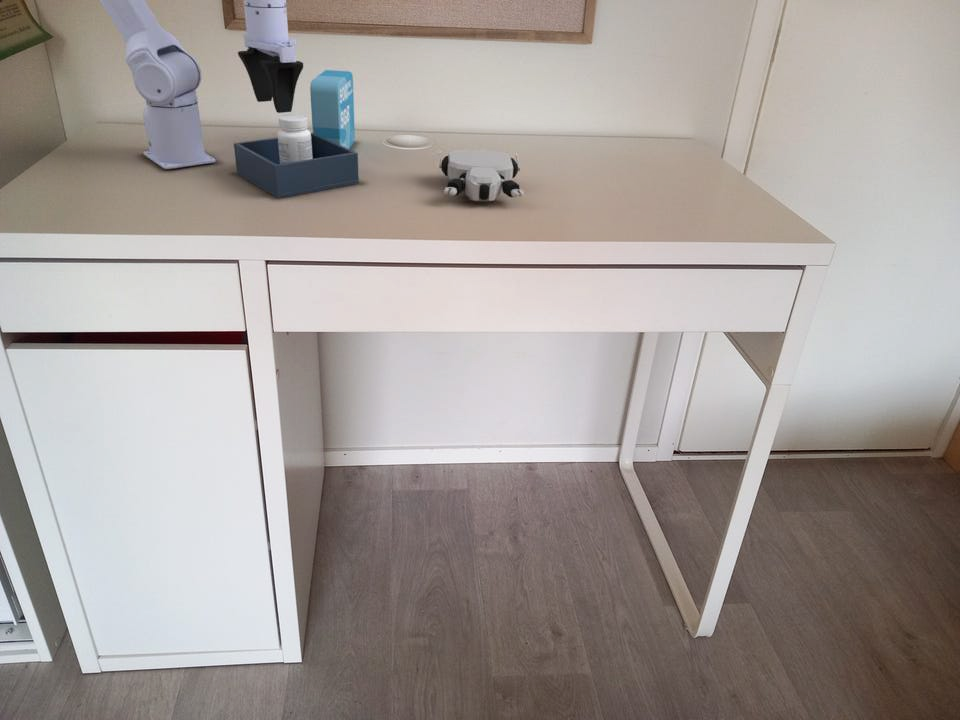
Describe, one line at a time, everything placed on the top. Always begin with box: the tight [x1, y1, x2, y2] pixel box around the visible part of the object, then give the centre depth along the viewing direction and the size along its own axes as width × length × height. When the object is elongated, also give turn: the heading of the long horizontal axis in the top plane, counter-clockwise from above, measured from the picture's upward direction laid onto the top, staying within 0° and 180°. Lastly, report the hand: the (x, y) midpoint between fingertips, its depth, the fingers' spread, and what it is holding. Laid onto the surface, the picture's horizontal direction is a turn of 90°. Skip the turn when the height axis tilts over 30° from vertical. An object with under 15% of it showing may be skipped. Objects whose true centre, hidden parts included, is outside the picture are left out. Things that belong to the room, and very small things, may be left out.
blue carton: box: [309, 69, 356, 149], centre depth 122 cm, size 12×4×12 cm, turn 178°
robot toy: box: [438, 148, 525, 203], centre depth 109 cm, size 12×4×15 cm
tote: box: [233, 132, 360, 199], centre depth 109 cm, size 13×13×5 cm
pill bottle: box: [277, 113, 313, 164], centre depth 108 cm, size 5×5×8 cm
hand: (273, 106), depth 109 cm, fingers open, 7 cm apart
